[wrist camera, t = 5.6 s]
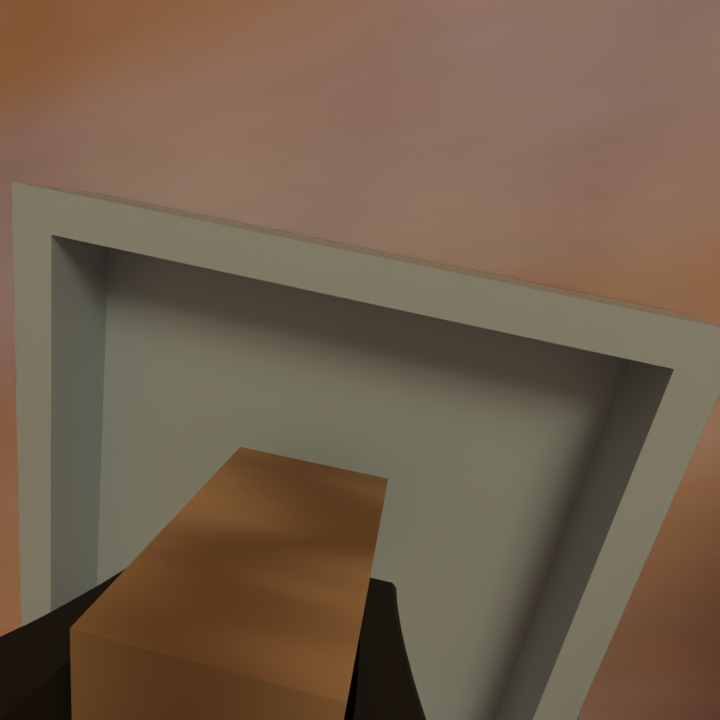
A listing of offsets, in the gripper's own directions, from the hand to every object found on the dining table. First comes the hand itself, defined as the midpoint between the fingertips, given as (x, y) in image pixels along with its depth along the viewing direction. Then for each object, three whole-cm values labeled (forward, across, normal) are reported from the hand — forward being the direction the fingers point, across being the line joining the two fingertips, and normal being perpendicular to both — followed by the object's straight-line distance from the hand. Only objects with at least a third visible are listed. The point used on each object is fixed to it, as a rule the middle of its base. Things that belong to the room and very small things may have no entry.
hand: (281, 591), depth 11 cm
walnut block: (+2, 0, 0) cm, 2 cm away
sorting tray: (+4, 0, 0) cm, 4 cm away
